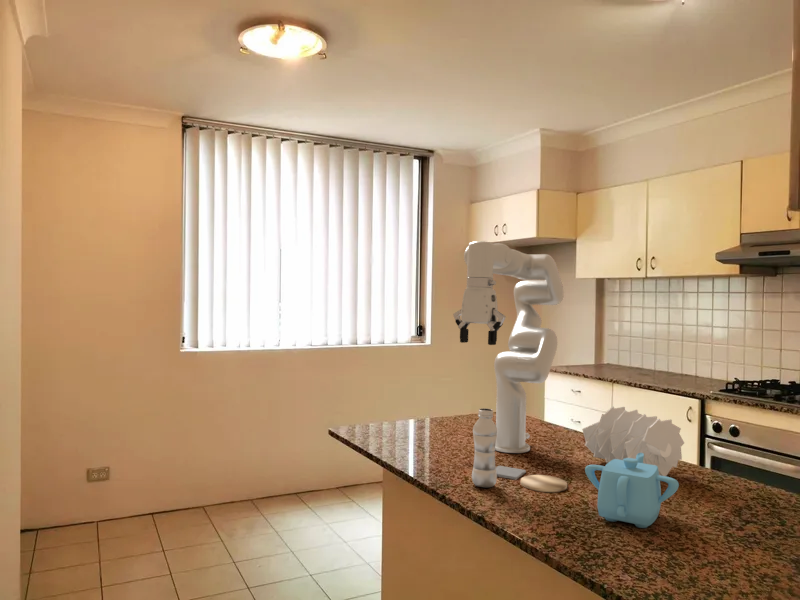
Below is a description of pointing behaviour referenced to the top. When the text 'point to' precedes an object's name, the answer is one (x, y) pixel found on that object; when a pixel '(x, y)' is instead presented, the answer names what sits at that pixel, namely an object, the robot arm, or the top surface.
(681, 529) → the top surface
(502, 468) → the slate coaster
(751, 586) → the top surface
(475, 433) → the silver metal bottle
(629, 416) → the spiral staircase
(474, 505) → the top surface
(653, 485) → the teapot
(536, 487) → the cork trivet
